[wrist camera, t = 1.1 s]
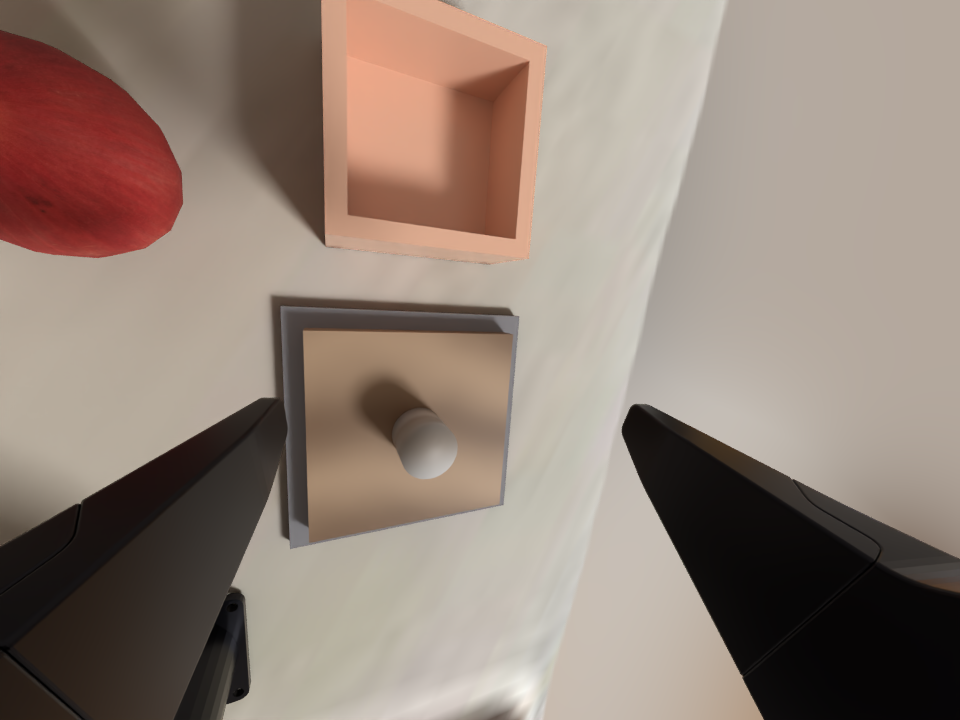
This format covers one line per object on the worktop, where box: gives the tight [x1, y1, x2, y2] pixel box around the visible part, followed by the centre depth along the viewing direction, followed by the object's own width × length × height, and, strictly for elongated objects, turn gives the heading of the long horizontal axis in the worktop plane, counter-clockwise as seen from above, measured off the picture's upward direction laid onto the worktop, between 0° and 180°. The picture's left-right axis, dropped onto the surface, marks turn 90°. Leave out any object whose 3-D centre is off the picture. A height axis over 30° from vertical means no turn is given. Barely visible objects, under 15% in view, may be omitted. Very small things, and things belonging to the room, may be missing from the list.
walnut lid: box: [303, 328, 513, 543], centre depth 18 cm, size 11×11×4 cm
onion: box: [0, 30, 183, 258], centre depth 10 cm, size 6×6×8 cm
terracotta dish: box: [321, 0, 547, 264], centre depth 16 cm, size 9×9×4 cm
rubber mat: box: [280, 306, 519, 549], centre depth 20 cm, size 13×13×1 cm
